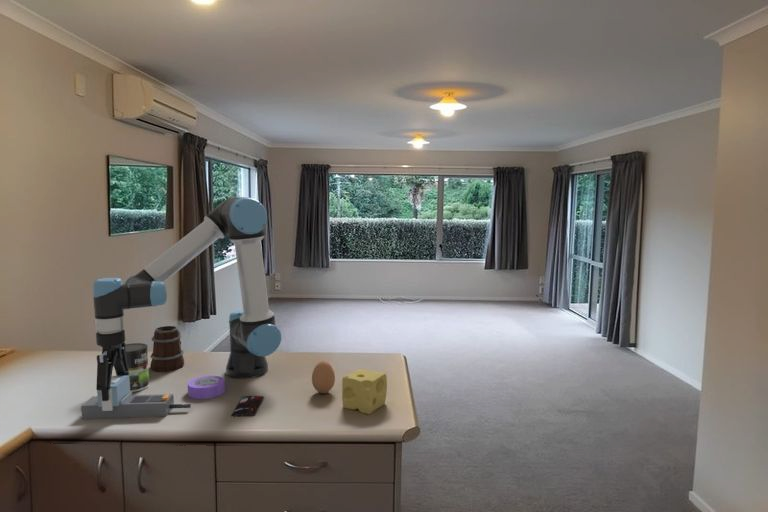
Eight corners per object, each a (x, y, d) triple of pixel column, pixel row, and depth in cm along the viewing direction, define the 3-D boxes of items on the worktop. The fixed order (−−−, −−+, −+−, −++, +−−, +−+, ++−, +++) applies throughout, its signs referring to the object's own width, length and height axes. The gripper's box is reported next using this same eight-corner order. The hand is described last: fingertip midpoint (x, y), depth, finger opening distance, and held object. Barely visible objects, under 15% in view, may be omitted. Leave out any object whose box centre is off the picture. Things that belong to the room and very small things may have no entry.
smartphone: (230, 416, 152) (242, 395, 167) (230, 418, 152) (242, 397, 167) (254, 415, 152) (264, 395, 167) (254, 417, 152) (264, 397, 167)
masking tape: (183, 390, 172) (183, 379, 172) (218, 383, 179) (217, 372, 179) (193, 402, 163) (193, 390, 162) (229, 393, 170) (229, 382, 169)
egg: (325, 386, 176) (325, 356, 174) (339, 392, 170) (339, 361, 169) (307, 392, 170) (306, 361, 169) (321, 399, 165) (321, 366, 164)
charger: (130, 394, 158) (129, 374, 158) (117, 406, 150) (116, 385, 149) (111, 394, 158) (110, 374, 157) (98, 406, 149) (96, 385, 148)
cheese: (369, 415, 153) (369, 383, 152) (340, 407, 159) (340, 376, 158) (387, 403, 162) (387, 373, 161) (359, 396, 168) (359, 366, 167)
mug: (176, 372, 190) (174, 332, 188) (144, 371, 191) (142, 332, 189) (194, 358, 205) (192, 322, 204) (165, 357, 206) (163, 321, 204)
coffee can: (156, 383, 179) (154, 343, 177) (136, 394, 169) (133, 352, 167) (130, 380, 181) (127, 342, 179) (109, 391, 171) (106, 350, 169)
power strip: (193, 405, 160) (193, 390, 159) (187, 415, 153) (186, 399, 152) (93, 408, 157) (92, 393, 156) (82, 418, 150) (80, 402, 150)
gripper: (113, 321, 162) (117, 390, 164) (78, 341, 140) (84, 419, 143) (137, 321, 162) (141, 389, 165) (107, 340, 141) (112, 418, 143)
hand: (115, 403), depth 154 cm, fingers closed on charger, 9 cm apart
